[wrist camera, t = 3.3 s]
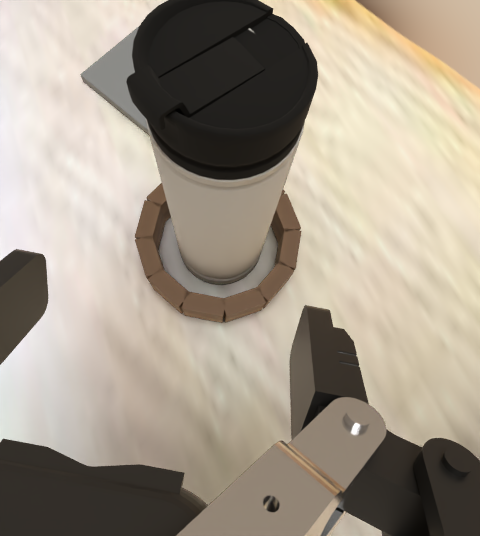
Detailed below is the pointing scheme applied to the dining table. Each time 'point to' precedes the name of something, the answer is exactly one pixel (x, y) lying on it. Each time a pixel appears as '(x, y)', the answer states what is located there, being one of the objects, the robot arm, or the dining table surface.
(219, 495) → the robot arm
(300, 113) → the travel mug
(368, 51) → the dining table surface
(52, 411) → the dining table surface
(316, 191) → the dining table surface
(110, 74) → the slate mat
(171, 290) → the ring
